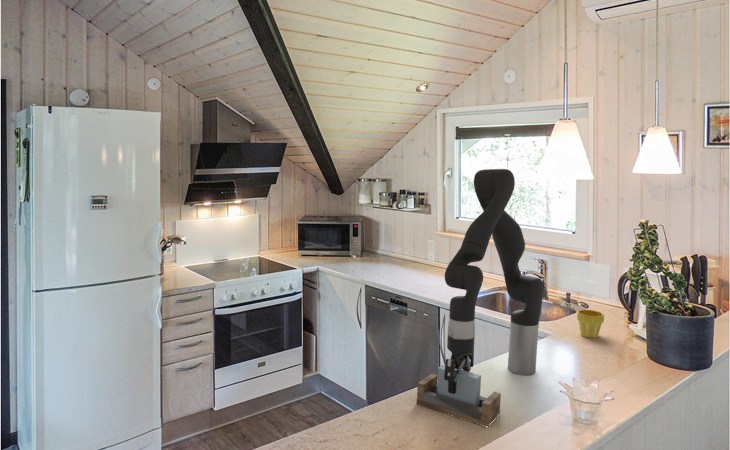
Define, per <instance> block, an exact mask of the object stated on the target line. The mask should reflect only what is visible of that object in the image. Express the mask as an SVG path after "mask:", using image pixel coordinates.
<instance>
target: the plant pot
mask: <svg viewBox="0 0 730 450" xmlns="http://www.w3.org/2000/svg"><path fill="white" fill-rule="evenodd" d="M576 319H577V321H578V325H579V331H580V335H581V336H582V337H585V338H589V339H595V338H598V337H599V335H600V331H601V327H602V325H603V323H604V320H605V314H604V313H603V312H602V311H598V310H593V309H579V310H577V312H576Z"/></svg>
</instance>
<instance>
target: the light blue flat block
mask: <svg viewBox="0 0 730 450" xmlns="http://www.w3.org/2000/svg"><path fill="white" fill-rule="evenodd" d="M455 370H458V369H455ZM444 373H445V364H441V365H440V366H439V367H438V368H437V375H438V378H437V383H438V384H437V394H439V395H442V396H445V397H449V398H452V399H455V400H458V401H461V402H465V403H468V404H471V405H474V406H477V407H479V406H480V396H481V386H482V385H481V384H482V375H481V374H477V373H475V372H471V371H469V372H467V371H464V370H463V369H462V370H461V373H460V374H459V375H458V377H457V380H456V381H457V384H456V393H455V394H451V393H449V392H448V380H444ZM454 376H455V373H454Z"/></svg>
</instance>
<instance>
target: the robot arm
mask: <svg viewBox="0 0 730 450" xmlns="http://www.w3.org/2000/svg"><path fill="white" fill-rule="evenodd" d="M515 181H516V180H515V176H514V174H513V172H512V171H511V170H510V169H507V168H494V169H493V168H489V169H487V168H485V169H479V170H478V171H477V172H476V173H475V175H474V177H473V187H474V192H475V195H476V198H477V199H478V202H479V205H480V207H481V208H482V212H481V213H480V214H479V215H478V216H477V217H476V218H475V219H474V220H473V222H471V224H470V225H469V226H468V228H467V230H466V232H465V234H464V237H463V241H462V243H461V246H460V248H459V250H458V251H457V252H456V253H455V255H454V256H453V258H452V260H451V261H450V262H449V264H448V265H447V267H446V268H445V272H444V281H445V283H446V285H447V286H448V287H450V288H453V289H457V290H459V289H460V290H462V291H463V290H464V291H466V292H465V295H458V296H453V297H451V298H450V302H449V315H448V325H447V341H446V342H447V343H446V345H447V346H446V347H447V349H448V350H449V352H450V353H451V356H450V358H446V359H445V362H444V365H445V373H444V380H448V392H449V393H451V394H455V393H456V384H457V381H456V380H457V377H458V375H459V374H460V373H461V370H464V371H467V372H471V369H472V368H473V367H474V363H475V361H474V359H475V358H474V357H475V335H476V334H475V333H476V331H475V330H476V322H475V319H476V318H475V317H476V305H477V301H478V297H479V293H480V290H481V288H482V285H483V282H484V274H483V271H482V269H481V268H480V267H479V266H477V265H470V264H471V263H476V262H481V261H483V259H484V258H485V255H486V252H487V250H488V246H489V243H490V240H491V237H492V240H493V242H494V246H495V249H496V252H497V253H498V257H499V260H500V261H499V262H500V265H501V267H502V268H501V269H502V272H503V277H504V283H505V288H506V291H507V294H508V296H509V298H510V299H512V300H513V301H516V302H520V303H524V304H525V305H524V306H525V307H524V309H518V310H514V311H512V312H511V314H510V327H509V342H508V343H509V344H508V357H507V369H508V371H509V372H511V373H512V374H516V375H520V376H531V375H535V374H536V369H537V355H538V354H537V353H538V339H539V323H540V318H541V313H542V305H543V298H544V291H545V290H544V282H543V281H542V279H541V278H539V277H535V276H531V275H526V274H523V273H521V271H520V266H519V262H520V260H521V258H522V257H523V255H524V252H525V249H526V241H525V238H524V234H523V231H522V228H521V226H520V225H519V223H518V222H517V221H516V220H515V219H514V218H513V217H512V215H510V214H509V213H508V212H507V211H506V210H505V209H506V207H507V206H508V204H509V202H510V199H512V196H513V194H514V190H515V185H516V182H515ZM455 369H458V370H455ZM454 373H455V376H454Z"/></svg>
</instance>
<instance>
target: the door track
mask: <svg viewBox="0 0 730 450" xmlns="http://www.w3.org/2000/svg"><path fill="white" fill-rule="evenodd" d="M437 384H438V374H435V373H431V374H429V375H427V376H426V377H425V378H423V379H421V380H420V381H419V382H417V392H416V394H417V396H416V397H417V398H416V405H418V406H421V407H424V408H427V409H430V410H432V411H436V412H438V411H439V412H438V413H441V412H442V414H444V413H446V414H445V415H447V414H449V415H448V416H450V415H453V416H455V417H454V418H456V417H459V418H462V419H465V420H468V421H471V422H473V423H472V424H474V423H478V424H481V425H484V426H489V424H490V423H491V422H492V421H493V420H494V419H495V418H497V416H498V415H499V414H500V415H501V397H502V393H500V392H497V391H493V392H492V393H491V394H490V395H488V396H487V397H484V396H482V395H480V406H479V407H477V406H474V405H471V404H468V403H465V402H461V401H458V400H455V399H452V398H449V397H445V396H442V395H439V394H437ZM500 415H499V416H500ZM453 416H452V417H453ZM499 416H498V417H499ZM459 418H458V419H459ZM462 419H461V420H462ZM465 420H464V421H465ZM468 421H467V422H468ZM471 422H470V423H471ZM489 427H490V426H489Z"/></svg>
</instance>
